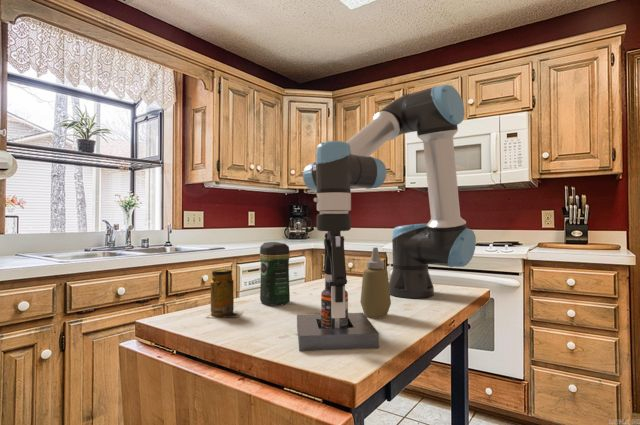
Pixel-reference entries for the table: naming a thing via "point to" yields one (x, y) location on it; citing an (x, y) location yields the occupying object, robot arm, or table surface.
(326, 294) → the supplement bottle
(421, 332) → the table surface
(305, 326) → the socket block
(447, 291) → the table surface
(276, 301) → the coffee jar
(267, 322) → the table surface
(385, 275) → the squeeze bottle
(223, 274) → the condiment
